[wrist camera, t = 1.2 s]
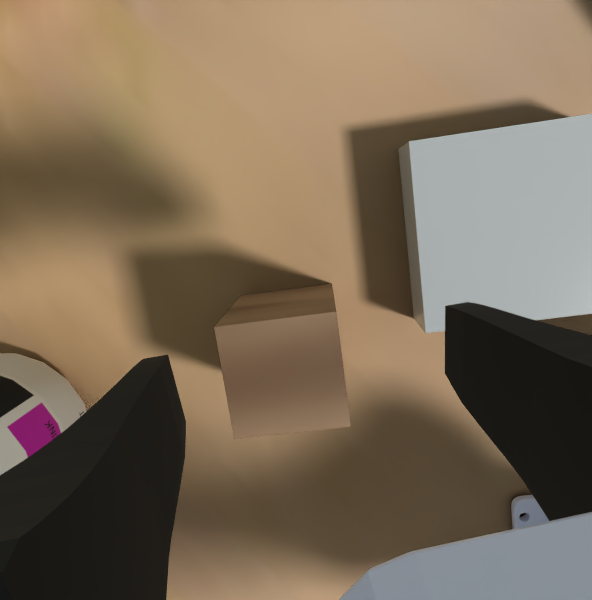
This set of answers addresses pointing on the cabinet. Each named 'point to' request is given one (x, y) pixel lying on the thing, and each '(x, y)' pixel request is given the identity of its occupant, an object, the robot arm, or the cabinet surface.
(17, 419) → the supplement can
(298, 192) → the cabinet surface
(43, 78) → the cabinet surface
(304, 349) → the walnut block
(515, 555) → the robot arm
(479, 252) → the grey stone block
